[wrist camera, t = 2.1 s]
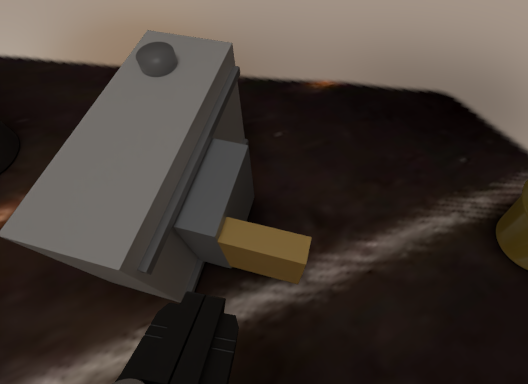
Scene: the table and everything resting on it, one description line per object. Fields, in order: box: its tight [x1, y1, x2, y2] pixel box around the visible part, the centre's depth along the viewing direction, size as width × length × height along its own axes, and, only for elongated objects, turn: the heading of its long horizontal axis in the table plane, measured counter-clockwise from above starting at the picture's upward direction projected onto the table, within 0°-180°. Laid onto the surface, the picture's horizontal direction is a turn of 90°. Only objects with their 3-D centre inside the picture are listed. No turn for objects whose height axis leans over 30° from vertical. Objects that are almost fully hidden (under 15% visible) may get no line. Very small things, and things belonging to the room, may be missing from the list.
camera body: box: [0, 30, 248, 303], centre depth 27 cm, size 9×23×15 cm, turn 165°
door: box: [173, 138, 312, 284], centre depth 25 cm, size 10×8×9 cm
